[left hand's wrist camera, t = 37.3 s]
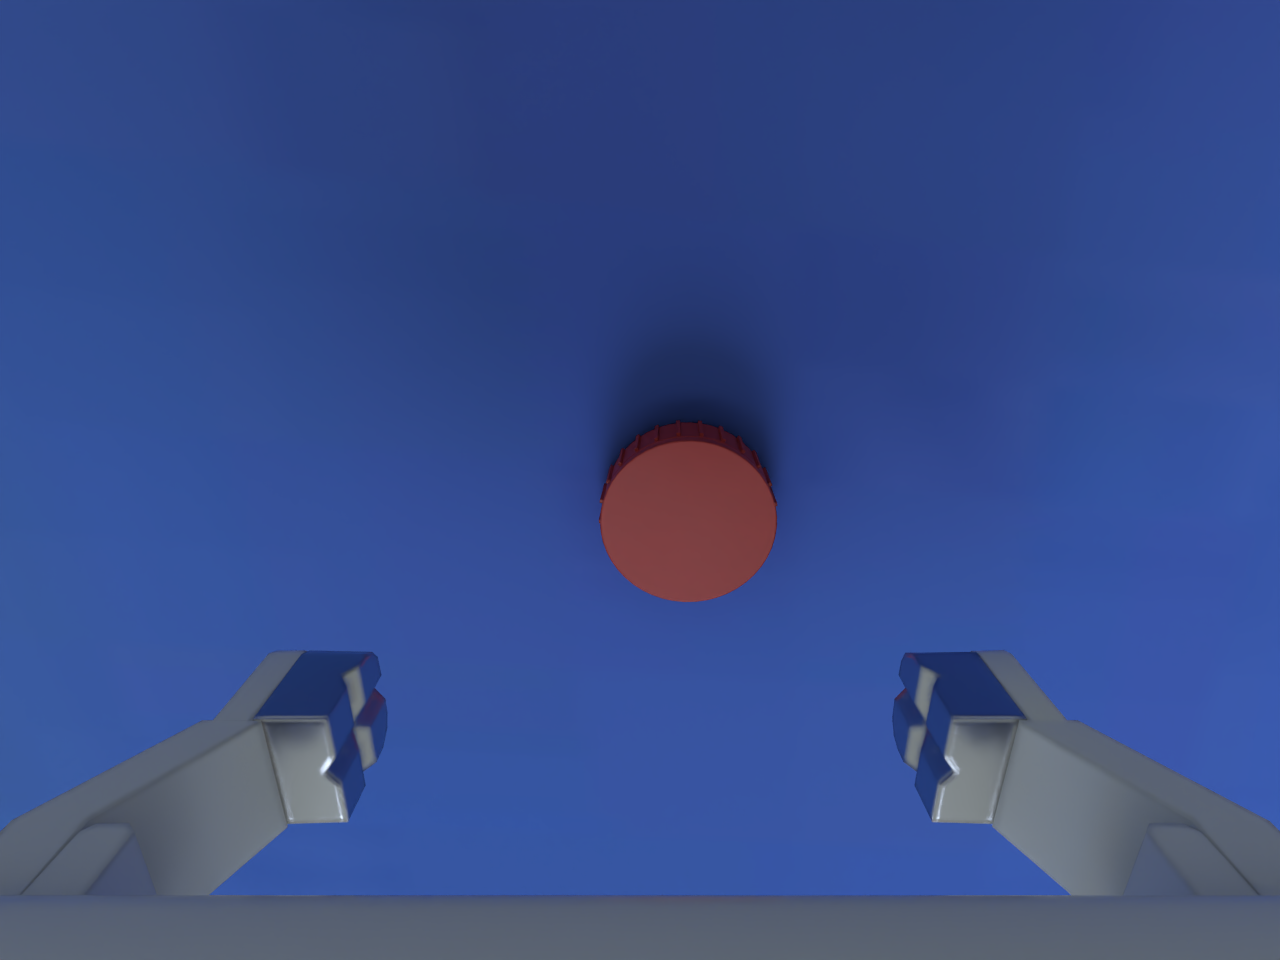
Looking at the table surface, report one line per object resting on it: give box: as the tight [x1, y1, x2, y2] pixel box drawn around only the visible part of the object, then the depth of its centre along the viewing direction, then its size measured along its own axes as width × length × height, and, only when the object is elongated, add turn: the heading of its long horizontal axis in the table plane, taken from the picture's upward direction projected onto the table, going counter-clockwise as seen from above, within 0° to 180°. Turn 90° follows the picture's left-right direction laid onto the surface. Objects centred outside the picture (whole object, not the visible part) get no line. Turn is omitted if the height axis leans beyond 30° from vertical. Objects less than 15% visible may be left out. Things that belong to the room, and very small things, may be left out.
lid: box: [599, 420, 777, 602], centre depth 19 cm, size 5×5×2 cm
